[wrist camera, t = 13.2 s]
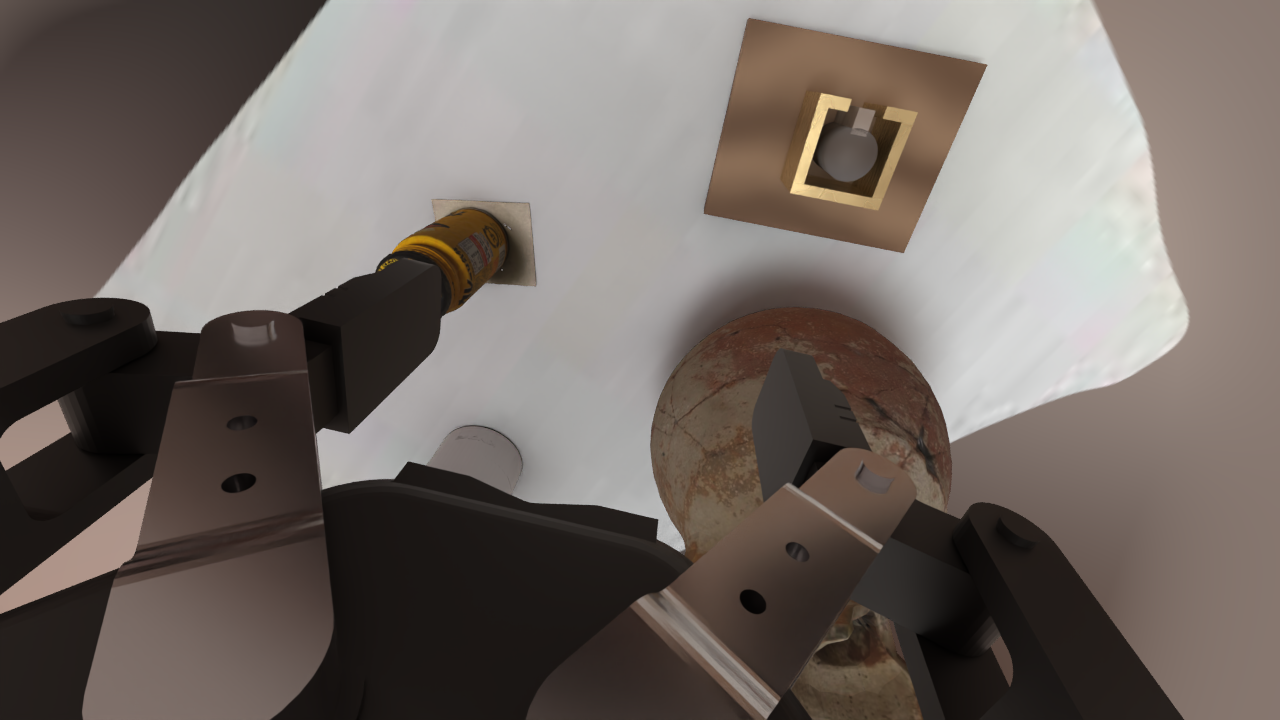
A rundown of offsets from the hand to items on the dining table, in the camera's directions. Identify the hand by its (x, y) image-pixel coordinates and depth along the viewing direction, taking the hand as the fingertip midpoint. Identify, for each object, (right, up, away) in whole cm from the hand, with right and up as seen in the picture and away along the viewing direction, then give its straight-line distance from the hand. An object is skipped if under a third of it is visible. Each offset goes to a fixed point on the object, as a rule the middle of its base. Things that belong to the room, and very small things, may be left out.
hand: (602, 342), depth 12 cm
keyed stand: (+15, +16, +26) cm, 34 cm away
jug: (+14, -2, +37) cm, 39 cm away
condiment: (-13, +10, +33) cm, 37 cm away
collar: (+15, +15, +25) cm, 33 cm away
